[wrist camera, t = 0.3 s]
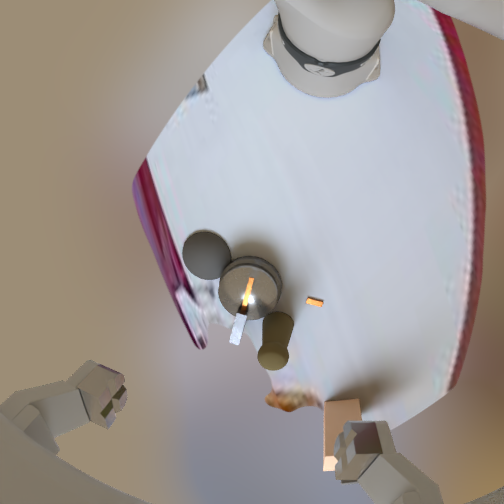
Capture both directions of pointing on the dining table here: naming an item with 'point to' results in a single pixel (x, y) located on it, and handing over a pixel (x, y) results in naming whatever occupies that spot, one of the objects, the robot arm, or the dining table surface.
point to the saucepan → (247, 295)
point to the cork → (275, 340)
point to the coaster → (206, 255)
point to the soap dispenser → (337, 428)
